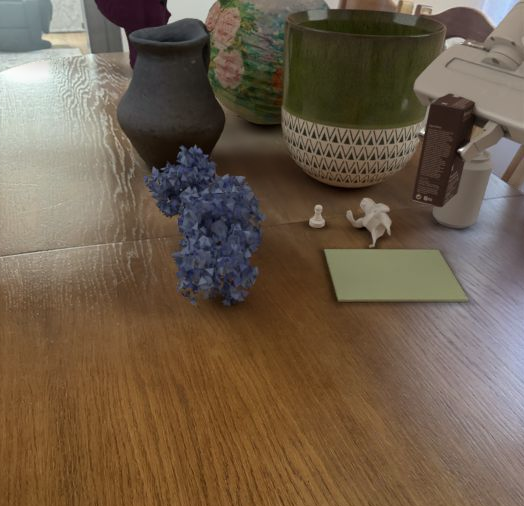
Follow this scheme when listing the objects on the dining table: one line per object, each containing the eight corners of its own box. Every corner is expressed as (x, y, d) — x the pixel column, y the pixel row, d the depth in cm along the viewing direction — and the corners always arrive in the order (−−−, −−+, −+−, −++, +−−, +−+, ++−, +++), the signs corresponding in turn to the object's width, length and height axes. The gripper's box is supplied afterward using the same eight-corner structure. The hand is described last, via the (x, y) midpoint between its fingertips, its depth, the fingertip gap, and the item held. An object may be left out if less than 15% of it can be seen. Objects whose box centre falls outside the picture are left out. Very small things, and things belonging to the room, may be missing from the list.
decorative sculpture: (283, 224, 64) (231, 120, 85) (154, 250, 62) (133, 136, 83) (287, 318, 74) (240, 204, 95) (177, 342, 72) (154, 221, 93)
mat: (438, 251, 88) (438, 249, 88) (467, 301, 77) (468, 299, 77) (324, 251, 87) (324, 248, 86) (337, 301, 76) (338, 299, 76)
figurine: (348, 237, 87) (336, 203, 96) (378, 257, 89) (364, 222, 98) (375, 207, 84) (360, 175, 93) (405, 229, 86) (388, 196, 95)
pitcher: (101, 172, 108) (78, 25, 93) (166, 140, 124) (157, 9, 108) (190, 195, 101) (182, 40, 86) (248, 159, 117) (250, 21, 101)
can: (440, 207, 101) (457, 139, 93) (481, 219, 97) (502, 150, 90) (424, 222, 96) (440, 151, 88) (467, 234, 93) (487, 163, 85)
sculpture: (179, 79, 166) (172, -45, 147) (102, 81, 161) (84, -46, 142) (170, 65, 179) (162, -51, 160) (98, 67, 174) (81, -52, 155)
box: (444, 209, 70) (464, 108, 63) (410, 201, 72) (426, 102, 65) (460, 194, 74) (481, 96, 67) (428, 186, 76) (445, 91, 69)
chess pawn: (308, 221, 95) (309, 201, 92) (323, 221, 95) (325, 201, 93) (310, 228, 93) (312, 208, 90) (325, 228, 93) (328, 208, 91)
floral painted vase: (339, 109, 147) (354, -29, 128) (328, 151, 122) (346, -13, 103) (219, 98, 151) (217, -36, 132) (185, 137, 125) (176, -23, 107)
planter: (298, 212, 97) (311, 37, 80) (263, 158, 117) (267, 8, 100) (438, 202, 102) (478, 35, 85) (381, 151, 122) (405, 8, 106)
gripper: (451, 18, 71) (377, 108, 73) (591, 50, 57) (494, 159, 59) (468, 55, 75) (398, 138, 78) (602, 93, 61) (511, 193, 64)
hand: (440, 148), depth 69 cm, fingers closed on box, 6 cm apart
